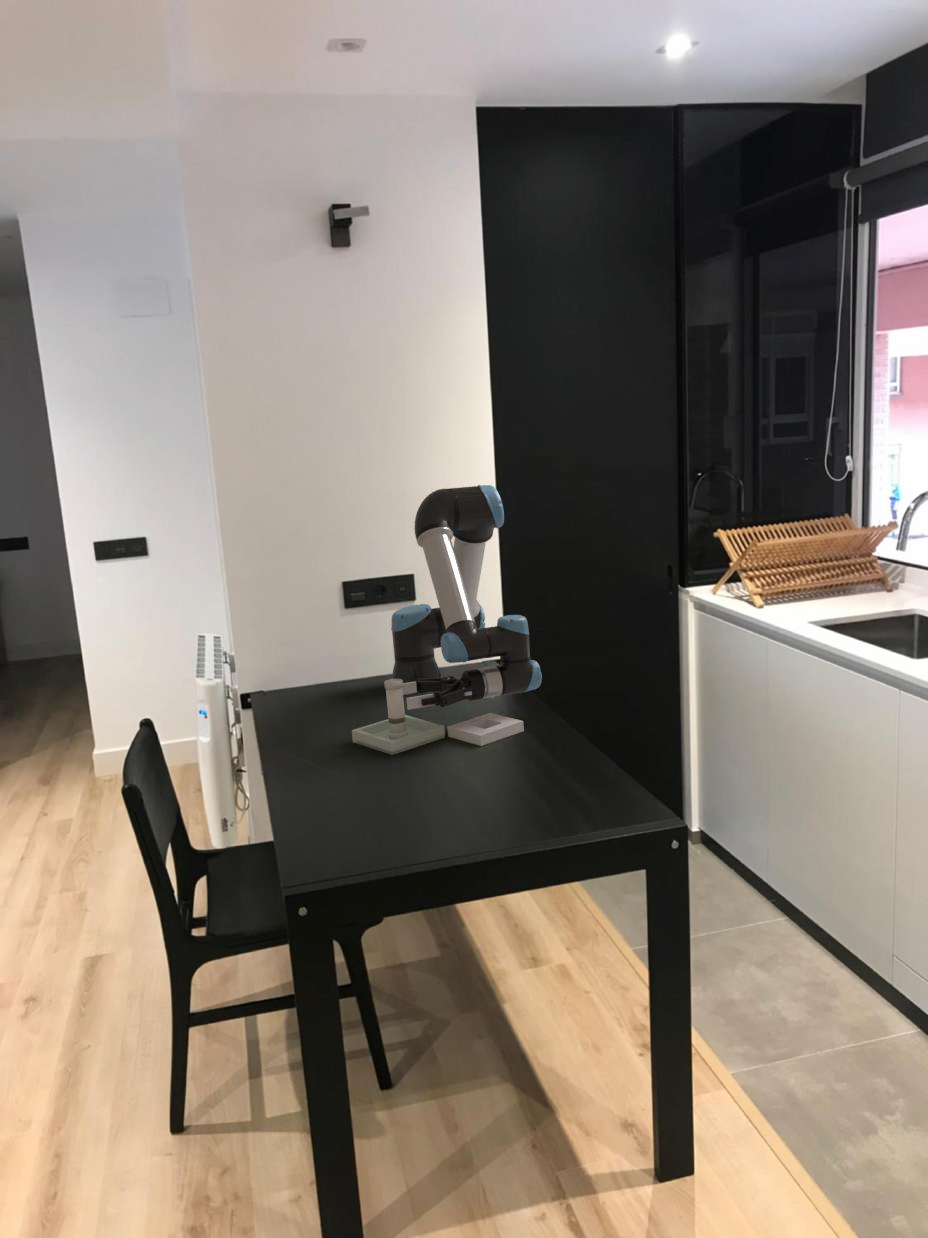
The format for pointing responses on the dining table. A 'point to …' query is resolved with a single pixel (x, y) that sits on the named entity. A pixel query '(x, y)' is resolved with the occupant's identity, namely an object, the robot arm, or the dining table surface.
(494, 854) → the dining table surface
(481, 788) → the dining table surface
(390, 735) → the fuse
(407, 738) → the parts tray
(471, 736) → the socket block
